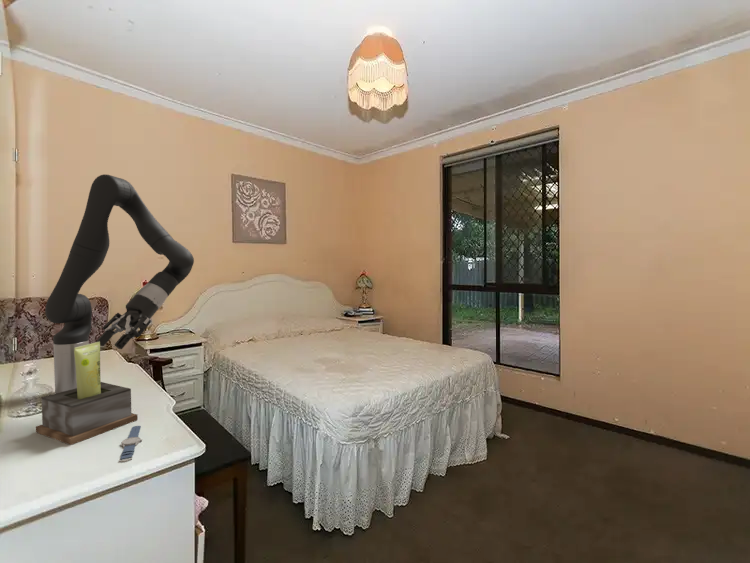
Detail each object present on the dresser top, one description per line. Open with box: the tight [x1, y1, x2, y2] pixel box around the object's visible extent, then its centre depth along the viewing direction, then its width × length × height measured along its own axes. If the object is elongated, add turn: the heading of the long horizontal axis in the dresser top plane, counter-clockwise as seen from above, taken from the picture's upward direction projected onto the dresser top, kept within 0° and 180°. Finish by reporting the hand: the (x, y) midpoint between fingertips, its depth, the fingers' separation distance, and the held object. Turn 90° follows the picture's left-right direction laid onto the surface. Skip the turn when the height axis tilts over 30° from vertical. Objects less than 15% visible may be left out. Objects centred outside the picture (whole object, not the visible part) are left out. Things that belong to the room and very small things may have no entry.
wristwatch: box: [118, 425, 143, 463], centre depth 90 cm, size 4×20×1 cm, turn 26°
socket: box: [35, 381, 139, 446], centre depth 99 cm, size 16×16×9 cm
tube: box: [74, 341, 102, 400], centre depth 99 cm, size 6×5×20 cm
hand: (108, 345), depth 104 cm, fingers open, 8 cm apart
